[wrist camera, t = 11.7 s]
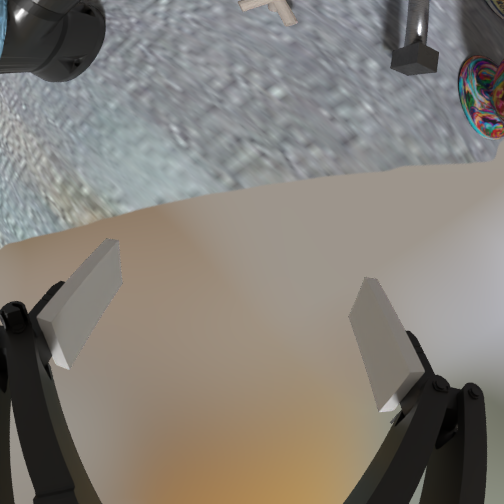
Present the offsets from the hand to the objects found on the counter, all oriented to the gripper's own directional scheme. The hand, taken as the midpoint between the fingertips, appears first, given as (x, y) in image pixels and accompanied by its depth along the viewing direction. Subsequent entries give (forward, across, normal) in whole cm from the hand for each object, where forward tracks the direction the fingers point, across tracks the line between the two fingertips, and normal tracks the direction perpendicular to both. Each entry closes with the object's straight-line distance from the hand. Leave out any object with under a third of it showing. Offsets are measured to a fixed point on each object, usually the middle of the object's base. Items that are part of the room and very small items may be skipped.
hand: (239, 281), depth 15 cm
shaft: (+28, +18, +31) cm, 45 cm away
